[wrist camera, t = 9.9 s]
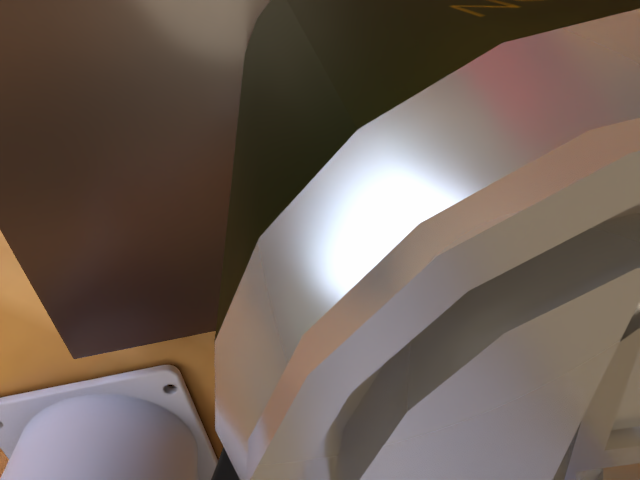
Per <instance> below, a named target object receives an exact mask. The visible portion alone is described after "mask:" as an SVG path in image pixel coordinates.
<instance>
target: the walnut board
mask: <svg viewBox="0 0 640 480" xmlns="http://www.w3.org/2000/svg"><path fill="white" fill-rule="evenodd" d="M270 1H271V0H0V230H1V232H2V233H3V235H4V237H5V239H6V240H7V242H8V244H9V246H10V248H11V249H12V251H13V253H14V255H15V256H16V258H17V260H18V262H19V263H20V265H21V267H22V269H23V270H24V272H25V274H26V276H27V278H28V279H29V281H30V283H31V285H32V286H33V288H34V290H35V292H36V293H37V295H38V297H39V299H40V300H41V302H42V304H43V306H44V308H45V309H46V311H47V313H48V315H49V316H50V318H51V320H52V322H53V323H54V325H55V327H56V329H57V331H58V332H59V334H60V336H61V338H62V339H63V341H64V343H65V345H66V346H67V348H68V350H69V352H70V353H71V355H72V357H73V358H74V359H77V358H82V357H87V356H92V355H97V354H102V353H107V352H112V351H117V350H122V349H127V348H132V347H137V346H142V345H147V344H152V343H157V342H162V341H167V340H172V339H177V338H182V337H187V336H192V335H197V334H202V333H207V332H212V331H216V325H217V315H218V306H219V296H220V287H221V277H222V268H223V258H224V248H225V239H226V229H227V220H228V210H229V201H230V191H231V181H232V172H233V162H234V153H235V143H236V134H237V124H238V114H239V105H240V95H241V86H242V76H243V67H244V57H245V52H246V49H247V46H248V43H249V40H250V37H251V35H252V32H253V29H254V26H255V23H256V20H257V18H258V17H259V15H260V14H261V13H262V11H263V10H264V9H265V7H266V6H267V5H268V4H269V2H270Z"/></svg>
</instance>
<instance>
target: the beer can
mask: <svg viewBox="0 0 640 480" xmlns="http://www.w3.org/2000/svg"><path fill="white" fill-rule="evenodd" d="M215 430H216V432H217V434H218V436H219V438H220V440H221V443H222V445H223V447H224V449H225V451H226V453H227V455H228V457H229V459H230V461H231V463H232V465H233V467H234V469H235V471H236V473H237V475H238V477H239V479H240V480H640V0H271V1H270V2H269V4H268V5H267V6H266V7H265V9H264V10H263V11H262V13H261V14H260V15H259V17H258V18H257V20H256V23H255V26H254V29H253V32H252V35H251V37H250V40H249V43H248V46H247V49H246V52H245V57H244V67H243V76H242V86H241V95H240V105H239V114H238V124H237V134H236V143H235V153H234V162H233V172H232V181H231V191H230V201H229V210H228V220H227V229H226V239H225V248H224V258H223V268H222V277H221V287H220V296H219V306H218V315H217V325H216V335H215Z"/></svg>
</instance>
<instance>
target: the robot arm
mask: <svg viewBox="0 0 640 480" xmlns="http://www.w3.org/2000/svg"><path fill="white" fill-rule="evenodd" d="M167 385H174V387H170V386H167ZM0 448H1V449H2V451H3V452H4V453H5V455H6V456H7V457H8V459H9V462H8V464H7V466H6V468H5V470H4V472H3V474H2V476H1V478H0V480H240V479H239V477H238V475H237V473H236V471H235V469H234V467H233V465H232V463H231V461H230V459H229V457H228V455H227V453H226V451H225V449H224V447H223V450H222V452H221V455H220V458H219V460H217V457H216V455H215V453H214V450H213V448H212V446H211V443H210V441H209V438H208V436H207V434H206V431H205V429H204V427H203V424H202V422H201V420H200V417H199V415H198V413H197V410H196V408H195V406H194V403H193V401H192V399H191V396H190V394H189V392H188V389H187V387H186V385H185V382H184V380H183V377H182V375H181V373H180V371H179V370H178V368H176V367H175V366H172V365H160V366H155V367H150V368H145V369H140V370H136V371H131V372H126V373H121V374H116V375H111V376H106V377H101V378H96V379H91V380H86V381H81V382H76V383H71V384H66V385H61V386H56V387H51V388H46V389H41V390H36V391H31V392H26V393H21V394H16V395H11V396H6V397H1V398H0Z"/></svg>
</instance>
